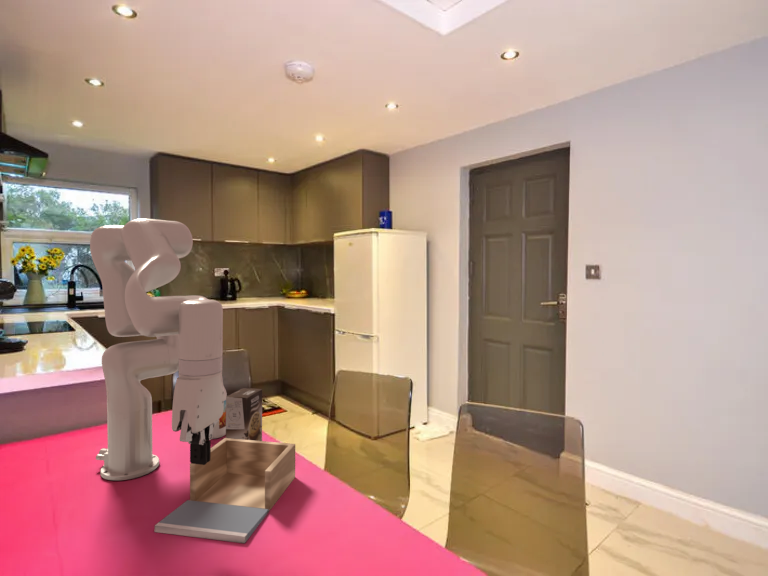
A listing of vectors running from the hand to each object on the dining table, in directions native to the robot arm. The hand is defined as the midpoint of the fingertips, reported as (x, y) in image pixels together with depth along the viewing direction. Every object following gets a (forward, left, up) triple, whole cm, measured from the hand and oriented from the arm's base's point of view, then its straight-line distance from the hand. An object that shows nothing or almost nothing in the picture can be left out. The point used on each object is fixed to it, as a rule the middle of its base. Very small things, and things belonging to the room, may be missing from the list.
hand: (200, 462), depth 81 cm
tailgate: (+1, +7, -13) cm, 15 cm away
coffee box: (-10, +36, -14) cm, 40 cm away
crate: (+1, +15, -14) cm, 21 cm away
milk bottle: (-24, +44, -14) cm, 52 cm away
